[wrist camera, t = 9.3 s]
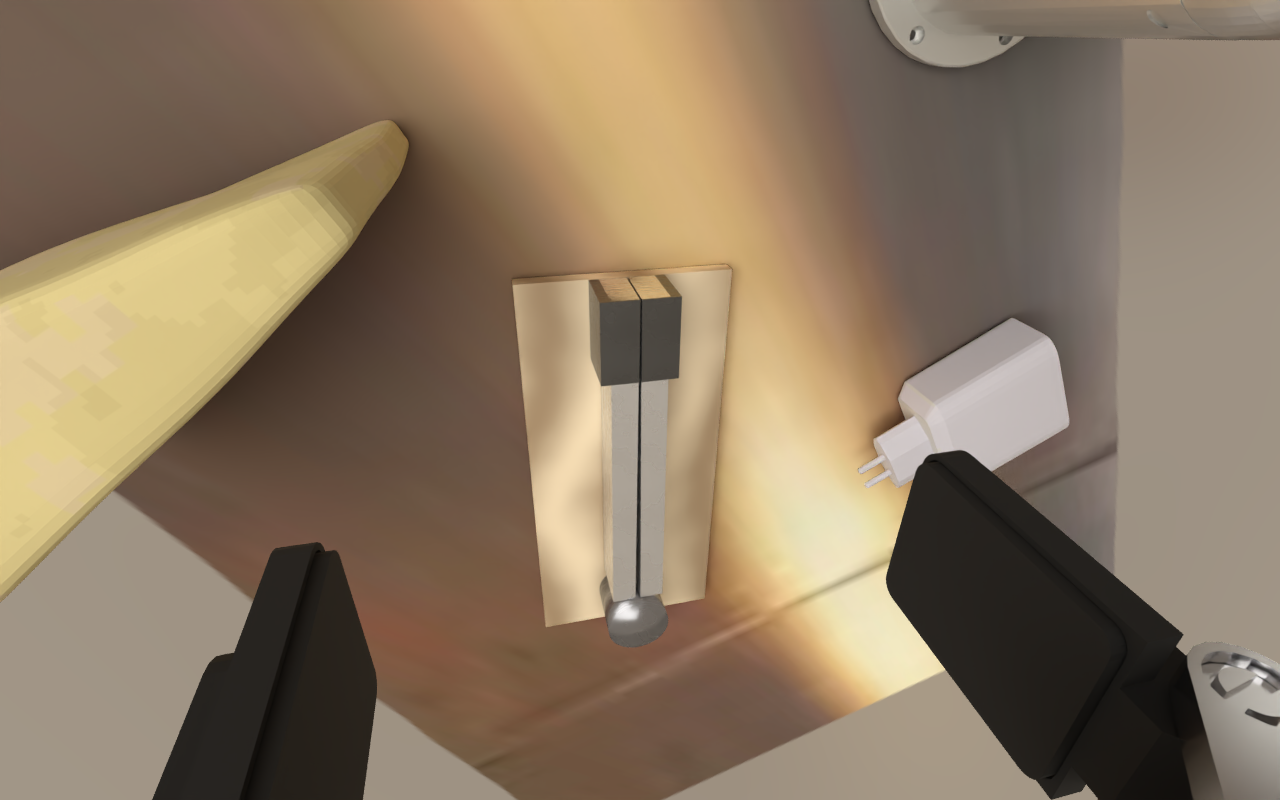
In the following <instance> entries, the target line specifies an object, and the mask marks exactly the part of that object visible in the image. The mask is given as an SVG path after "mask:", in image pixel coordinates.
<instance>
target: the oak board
mask: <svg viewBox="0 0 1280 800" xmlns="http://www.w3.org/2000/svg"><path fill="white" fill-rule="evenodd" d="M652 275H665V276H666V277H667V278H668V279H669V281H670V282H671V283H672V284H673V286H674V287H675V288H676V289H677V291H678V292H679V293H680V294H681V296H682V312H681V338H680V364H679V378H677V379H668V411H667V446H666V480H665V515H664V549H663V584H662V594H660V595H661V598H662V601H663V604H664V606H665V605H671V604H676V603H682V602H687V601H693V600H698V599H704V598H705V586H706V574H707V563H708V551H709V539H710V527H711V515H712V503H713V492H714V480H715V468H716V456H717V444H718V432H719V421H720V409H721V397H722V385H723V373H724V361H725V350H726V338H727V326H728V314H729V302H730V290H731V279H732V269H731V268H730V267H729V266H728V265H727V264H720V265H706V266H691V267H677V268H663V269H648V270H634V271H620V272H605V273H591V274H577V275H562V276H548V277H533V278H519V279H512V288H513V299H514V309H515V319H516V329H517V340H518V350H519V360H520V370H521V381H522V391H523V401H524V411H525V421H526V432H527V442H528V452H529V462H530V473H531V483H532V493H533V503H534V514H535V524H536V534H537V544H538V554H539V565H540V575H541V585H542V595H543V606H544V616H545V624H546V627H549V626H555V625H560V624H566V623H571V622H577V621H582V620H588V619H593V618H599V617H604V616H605V614H604V609H603V605H602V601H601V597H600V592H599V588H600V584H601V582H602V580H603V579H604V577H605V576H606V572H605V568H604V529H603V476H602V423H601V385H600V382H599V380H598V377H597V374H596V372H595V369H594V366H593V364H592V361H591V356H590V320H589V284H588V280H595V279H610V278H627V280H628V277H639V276H652Z"/></svg>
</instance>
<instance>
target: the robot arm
mask: <svg viewBox="0 0 1280 800" xmlns="http://www.w3.org/2000/svg"><path fill="white" fill-rule="evenodd" d="M869 2H870V6H871V9H872V12H873V14H874V16H875V18H876V20H877V22H878V24H879V26H880V28H881V30H882V31H883V33H884V34H885V35H886V36H887V38H888V39H889V40H890V41H891V43H892V44H893V45H894V46H895V47H896V48H897V49H899V50H900V51H901V52H903V53H904V54H905V55H907V56H908V57H909V58H911V59H914V60H916V61H919V62H921V63H924V64H926V65H933V66H940V67H966V66H970V65H974V64H979V63H983V62H985V61H987V60H989V59H991V58H994V57H996V56H998V55H1000V54H1002V53H1004V52H1005V51H1007V50H1008V49H1009V48H1011V47H1012V46H1014V45H1015V44H1017V43H1018V42H1020V41H1021V40H1022V39H1023V38H1024V37H1080V38H1135V39H1136V38H1138V39H1192V40H1280V0H869ZM910 33H911V36H910ZM886 584H887V588H888V591H889V593H890V595H891V597H892V598H893V600H894V601H895V602H896V604H897V605H898V606H899V608H900V609H901V610H902V612H903V613H904V614H905V616H906V617H907V618H908V620H909V621H910V622H911V624H912V625H913V626H914V628H915V629H916V630H917V632H918V633H919V634H920V636H921V637H922V639H923V640H924V641H925V643H926V644H927V645H928V647H929V648H930V649H931V651H932V652H933V653H934V655H935V656H936V657H937V659H938V660H939V661H940V663H941V664H942V665H943V667H944V668H945V669H946V671H947V672H948V673H949V675H950V676H951V677H952V679H953V680H954V681H955V683H956V684H957V685H958V686H959V688H960V689H961V691H962V692H963V693H964V695H965V696H966V697H967V699H968V700H969V701H970V703H971V704H972V705H973V707H974V708H975V710H976V711H977V712H978V713H979V715H980V716H981V717H982V719H983V720H984V722H985V723H986V724H987V726H989V728H990V730H991V731H992V732H993V734H994V735H995V736H996V738H997V739H998V740H999V742H1000V743H1001V744H1002V746H1003V747H1004V748H1005V750H1006V751H1007V752H1008V754H1009V755H1010V756H1011V758H1012V759H1013V760H1014V762H1015V763H1016V764H1017V766H1018V767H1019V768H1020V769H1021V771H1022V772H1023V773H1024V774H1025V775H1027V776H1028V777H1029V778H1032V779H1034V780H1036V781H1037V782H1038V783H1039V784H1040V786H1041V787H1042V788H1043V790H1044V791H1045V792H1046V794H1047V795H1048V796H1049V798H1050V799H1051V800H1052V799H1055V798H1059V797H1062V796H1066V795H1070V794H1073V793H1077V792H1081V791H1082V790H1083V788H1084V787H1085V785H1086V784H1087V786H1088V787H1089V788H1090V789H1091V790H1092V792H1093V793H1094V794H1095V795H1096V797H1097V798H1098V800H1280V665H1279V664H1277V663H1276V662H1274V661H1272V660H1270V659H1268V658H1266V657H1265V656H1263V655H1261V654H1258V653H1256V652H1253V651H1250V650H1248V649H1245V648H1243V647H1240V646H1235V645H1230V644H1226V643H1222V642H1204V643H1201V644H1199V645H1196V646H1194V647H1192V649H1191V650H1190V651H1189V653H1188V654H1187V656H1186V655H1184V654H1183V653H1182V652H1181V651H1180V650H1179V649H1178V648H1177V647H1176V645H1177V644H1178V642H1179V641H1180V639H1181V638H1182V636H1183V634H1182V633H1181V632H1180V631H1179V630H1178V629H1176V628H1175V627H1174V626H1173V625H1172V624H1171V623H1169V622H1168V621H1167V620H1166V619H1164V618H1163V617H1162V616H1161V615H1160V614H1159V613H1158V612H1156V611H1155V610H1154V609H1153V608H1152V607H1150V606H1149V605H1148V604H1147V603H1146V602H1144V601H1143V600H1142V599H1141V598H1140V597H1139V596H1137V595H1136V594H1135V593H1134V592H1133V591H1132V590H1130V589H1129V588H1128V587H1127V586H1126V585H1124V584H1123V583H1122V582H1121V581H1120V580H1119V579H1117V578H1116V577H1115V576H1114V575H1113V574H1111V573H1110V572H1109V571H1108V570H1107V569H1106V568H1104V567H1103V566H1102V565H1101V564H1100V563H1099V562H1097V561H1096V560H1095V559H1094V558H1093V557H1091V556H1090V555H1089V554H1088V553H1087V552H1086V551H1084V550H1083V549H1082V548H1081V547H1080V546H1078V545H1077V544H1076V543H1075V542H1074V541H1073V540H1071V539H1070V538H1069V537H1068V536H1067V535H1065V534H1064V533H1063V532H1062V531H1061V530H1060V529H1058V528H1057V527H1056V526H1055V525H1054V524H1052V523H1051V522H1050V521H1049V520H1048V519H1047V518H1045V517H1044V516H1043V515H1042V514H1041V513H1039V512H1038V511H1037V510H1036V509H1035V508H1034V507H1032V506H1031V505H1030V504H1029V503H1028V502H1027V501H1025V500H1024V499H1023V498H1022V497H1021V496H1019V495H1018V494H1017V493H1016V492H1015V491H1014V490H1012V489H1011V488H1010V487H1009V486H1008V485H1006V484H1005V483H1004V482H1003V481H1002V480H1001V479H999V478H998V477H997V476H996V475H995V474H993V473H992V472H991V471H990V470H989V469H988V468H986V467H985V466H984V465H983V464H982V463H980V462H979V461H978V460H977V459H976V458H975V457H973V456H972V455H971V454H970V453H968V452H966V451H963V450H956V451H949V452H942V453H935V454H931V455H928V456H927V457H926V458H925V459H924V461H923V464H921V465H919V466H918V467H917V470H916V472H915V476H914V479H913V483H912V486H911V490H910V493H909V497H908V501H907V504H906V508H905V511H904V515H903V518H902V522H901V525H900V529H899V532H898V536H897V539H896V543H895V547H894V550H893V554H892V557H891V561H890V564H889V568H888V571H887V575H886ZM376 696H377V679H376V672H375V668H374V665H373V662H372V659H371V656H370V652H369V649H368V646H367V643H366V639H365V636H364V633H363V630H362V627H361V623H360V620H359V617H358V614H357V611H356V607H355V604H354V601H353V598H352V595H351V591H350V588H349V585H348V582H347V579H346V575H345V572H344V569H343V566H342V563H341V559H340V556H339V554H338V552H337V551H336V550H332V551H326V552H325V550H324V547H323V546H322V544H321V543H318V542H316V543H309V544H302V545H295V546H288V547H281V548H276V549H275V550H273V551H272V553H271V555H270V557H269V560H268V563H267V565H266V568H265V571H264V574H263V576H262V579H261V582H260V584H259V587H258V590H257V593H256V595H255V598H254V601H253V603H252V606H251V609H250V612H249V614H248V617H247V620H246V623H245V625H244V628H243V630H242V633H241V636H240V639H239V641H238V644H237V647H236V649H235V652H234V653H230V654H224V655H220V656H216V657H215V658H214V659H213V660H212V661H211V662H210V663H209V664H208V666H207V668H206V670H205V672H204V674H203V676H202V678H201V681H200V683H199V686H198V688H197V690H196V693H195V695H194V698H193V700H192V703H191V705H190V708H189V710H188V713H187V715H186V718H185V720H184V723H183V725H182V727H181V730H180V732H179V735H178V737H177V740H176V742H175V745H174V747H173V750H172V752H171V755H170V757H169V760H168V762H167V764H166V767H165V769H164V772H163V774H162V777H161V779H160V782H159V784H158V787H157V789H156V792H155V794H154V797H153V799H152V800H363V794H364V786H365V779H366V771H367V763H368V757H369V749H370V741H371V733H372V726H373V719H374V711H375V703H376Z"/></svg>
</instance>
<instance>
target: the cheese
mask: <svg viewBox="0 0 1280 800" xmlns="http://www.w3.org/2000/svg"><path fill="white" fill-rule="evenodd" d="M408 148H409V143H408V140H407V139H406V137H405V136H404V134H403V133H402V132H401V130H400V129H399V128H398V126H397V125H396V124H395V123H394V122H393V121H390V120H383V121H379V122H376V123H373V124H371V125H368V126H366V127H363V128H361V129H359V130H356V131H354V132H352V133H350V134H347V135H345V136H343V137H341V138H339V139H336V140H334V141H332V142H329V143H327V144H325V145H323V146H320V147H318V148H316V149H314V150H311V151H309V152H307V153H304V154H302V155H300V156H298V157H295V158H293V159H291V160H288V161H286V162H284V163H281V164H279V165H277V166H274V167H272V168H270V169H267V170H265V171H263V172H260V173H258V174H256V175H254V176H251V177H249V178H247V179H244V180H242V181H240V182H238V183H235V184H233V185H231V186H229V187H226V188H224V189H222V190H219V191H217V192H214V193H211V194H209V195H206V196H203V197H199V198H196V199H193V200H190V201H187V202H184V203H180V204H177V205H174V206H171V207H168V208H165V209H162V210H159V211H156V212H153V213H150V214H147V215H144V216H141V217H138V218H135V219H132V220H129V221H126V222H123V223H120V224H117V225H114V226H111V227H108V228H105V229H102V230H99V231H96V232H94V233H91V234H88V235H85V236H82V237H80V238H77V239H74V240H72V241H69V242H66V243H64V244H61V245H59V246H56V247H54V248H51V249H49V250H46V251H44V252H42V253H39V254H37V255H34V256H32V257H30V258H27V259H25V260H23V261H20V262H18V263H16V264H14V265H11V266H9V267H7V268H5V269H3V270H0V602H1V601H3V600H4V599H5V598H6V597H7V596H8V595H9V594H10V593H11V592H12V591H13V590H14V589H15V588H16V587H17V586H18V585H19V584H20V583H21V582H22V581H23V580H24V579H25V578H26V577H27V576H28V575H29V574H30V573H31V572H32V571H33V570H34V569H35V567H37V566H38V565H39V564H40V562H42V561H43V560H44V559H45V558H46V557H47V556H48V554H49V553H50V552H51V551H52V550H53V549H54V548H55V547H56V546H57V545H58V544H59V543H60V542H61V541H62V540H63V539H64V538H65V537H66V536H67V535H68V534H69V533H70V532H71V531H72V530H73V529H74V528H75V527H76V526H77V525H78V524H79V523H80V522H81V521H82V520H83V519H84V518H85V517H86V516H87V515H88V514H89V513H90V512H91V511H92V510H93V509H94V508H95V507H96V506H97V505H98V504H100V502H102V500H104V499H105V498H106V497H107V496H108V495H109V494H110V493H111V492H112V491H113V490H114V489H115V488H116V487H117V486H118V485H119V484H121V483H122V482H123V481H124V480H125V479H126V478H127V477H128V476H129V475H130V474H131V473H132V472H133V471H135V470H136V469H137V468H138V467H139V466H140V465H141V464H142V463H143V462H144V461H145V460H146V459H148V458H149V457H150V456H151V455H152V454H153V453H154V452H155V451H156V450H157V449H158V448H160V447H161V446H162V445H163V444H164V443H165V442H166V441H167V440H168V439H169V438H170V437H171V436H173V435H174V434H175V433H176V432H177V431H178V430H179V429H180V428H181V427H182V426H183V425H184V424H185V423H187V422H188V421H189V420H190V419H191V418H192V417H193V416H194V415H195V414H196V413H197V412H198V411H199V410H200V409H201V408H202V407H203V406H204V405H205V404H206V403H207V402H208V401H209V400H210V399H211V398H212V397H213V396H214V395H215V394H216V393H217V392H218V391H219V390H220V389H221V388H222V387H223V386H224V385H225V384H226V383H227V382H228V381H229V380H230V379H231V378H232V377H233V376H234V375H235V374H236V373H237V372H238V371H239V370H240V369H241V367H242V366H243V365H244V364H245V363H246V362H247V361H248V360H249V359H250V358H251V357H252V356H253V354H254V353H255V352H256V351H257V350H258V349H259V348H260V347H261V346H262V345H263V343H264V342H265V341H266V340H267V339H268V338H269V337H270V336H271V335H272V333H273V332H274V331H275V330H276V329H277V328H278V327H279V326H280V324H281V323H282V322H283V321H284V320H285V319H286V318H287V317H288V316H289V315H290V313H291V312H292V311H293V310H294V309H295V308H296V307H297V306H298V305H299V303H300V302H301V301H302V300H303V299H304V298H305V297H306V296H307V295H308V294H309V293H310V291H311V290H312V289H313V288H314V287H315V286H316V285H317V284H318V283H319V282H320V281H321V280H322V279H323V278H324V276H325V275H326V274H327V273H328V272H329V271H330V270H331V269H332V268H333V267H334V266H335V265H336V264H337V262H338V261H339V260H340V259H341V258H342V257H343V256H344V254H345V253H346V252H347V251H348V249H349V248H350V247H351V246H352V244H353V243H354V241H355V240H356V238H357V237H358V235H359V234H360V232H361V230H362V229H363V227H364V226H365V224H366V222H367V221H368V219H369V218H370V216H371V215H372V213H373V212H374V210H375V209H376V208H377V206H378V205H379V204H380V202H381V201H382V200H383V198H384V197H385V196H386V195H387V193H388V192H389V191H390V189H391V188H392V186H393V185H394V183H395V182H396V180H397V178H398V177H399V175H400V173H401V170H402V168H403V165H404V162H405V159H406V156H407V152H408Z"/></svg>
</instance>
